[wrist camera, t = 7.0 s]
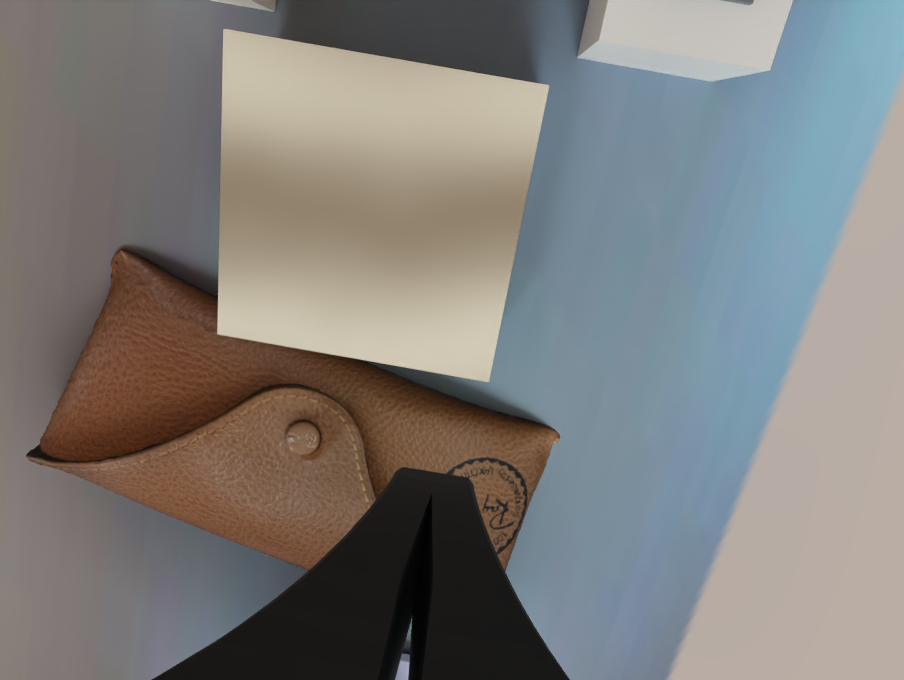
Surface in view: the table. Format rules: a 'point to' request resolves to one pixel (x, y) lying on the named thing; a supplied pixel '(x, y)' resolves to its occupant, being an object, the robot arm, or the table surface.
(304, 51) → the plain birch block
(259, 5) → the cream block marked 2
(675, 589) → the table surface
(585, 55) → the cream block marked 1
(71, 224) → the table surface
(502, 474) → the sunglasses case
